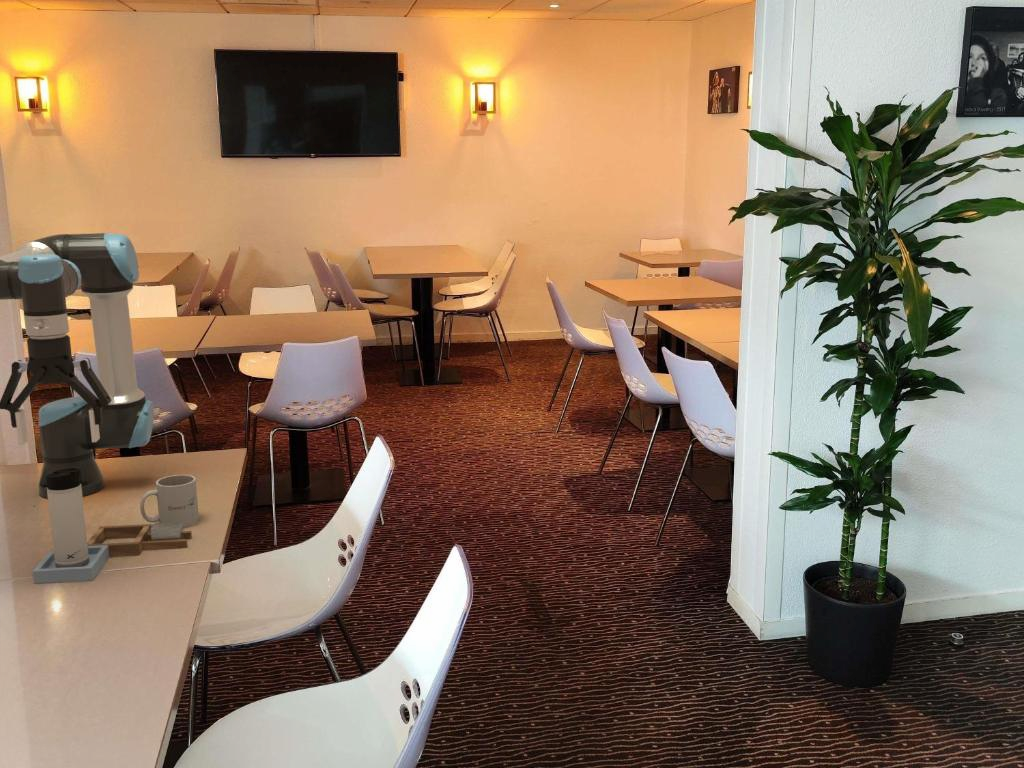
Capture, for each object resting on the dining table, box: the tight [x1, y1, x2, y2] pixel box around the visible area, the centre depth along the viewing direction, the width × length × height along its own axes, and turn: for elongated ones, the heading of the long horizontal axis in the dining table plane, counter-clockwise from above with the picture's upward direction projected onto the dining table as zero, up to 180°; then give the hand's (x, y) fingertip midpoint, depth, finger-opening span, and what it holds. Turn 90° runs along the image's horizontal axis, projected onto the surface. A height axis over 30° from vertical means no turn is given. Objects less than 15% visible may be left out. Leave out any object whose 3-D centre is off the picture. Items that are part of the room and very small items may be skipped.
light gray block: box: [151, 523, 184, 541], centre depth 206 cm, size 3×6×4 cm, turn 98°
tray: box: [32, 545, 110, 585], centre depth 193 cm, size 12×11×3 cm
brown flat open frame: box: [87, 523, 193, 558], centre depth 206 cm, size 12×20×2 cm, turn 98°
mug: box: [139, 474, 200, 528], centre depth 218 cm, size 12×9×10 cm
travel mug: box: [46, 468, 89, 568], centre depth 191 cm, size 6×7×20 cm
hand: (59, 441), depth 188 cm, fingers open, 13 cm apart
